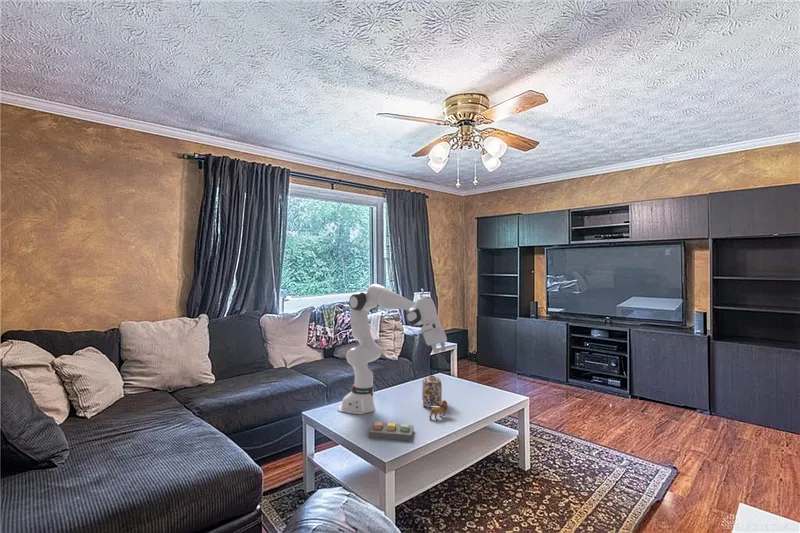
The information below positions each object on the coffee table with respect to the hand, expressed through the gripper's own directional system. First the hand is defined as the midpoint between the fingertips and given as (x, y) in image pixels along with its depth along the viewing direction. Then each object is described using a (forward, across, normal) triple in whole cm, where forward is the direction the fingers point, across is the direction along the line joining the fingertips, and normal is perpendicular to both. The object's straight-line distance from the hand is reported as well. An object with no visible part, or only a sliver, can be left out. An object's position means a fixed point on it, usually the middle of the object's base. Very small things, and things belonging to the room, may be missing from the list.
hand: (440, 352), depth 203 cm
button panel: (+33, +8, -37) cm, 50 cm away
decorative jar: (+30, -44, -35) cm, 64 cm away
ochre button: (+32, +8, -36) cm, 49 cm away
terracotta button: (+29, +10, -42) cm, 53 cm away
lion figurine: (+35, -26, -25) cm, 50 cm away
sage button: (+34, +5, -30) cm, 46 cm away
